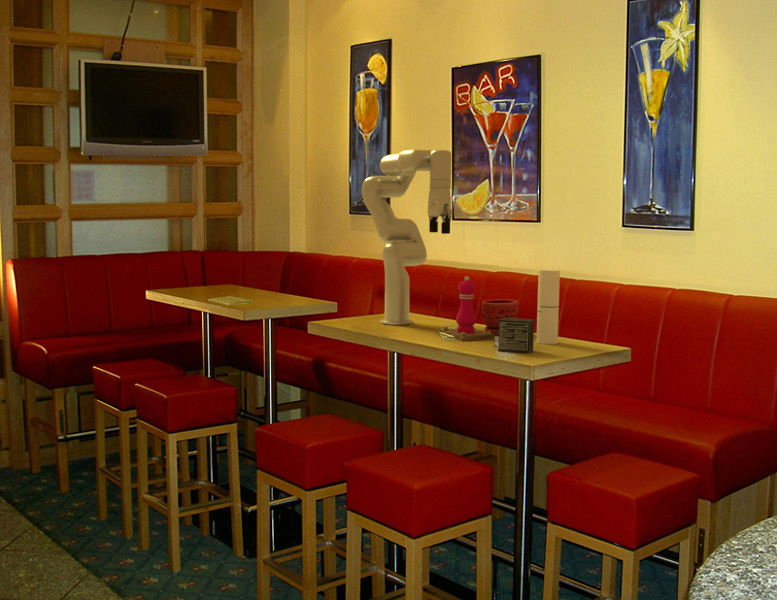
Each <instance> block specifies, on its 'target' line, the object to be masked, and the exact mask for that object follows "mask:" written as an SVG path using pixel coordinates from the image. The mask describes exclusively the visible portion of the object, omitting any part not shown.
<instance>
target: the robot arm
mask: <svg viewBox="0 0 777 600" xmlns="http://www.w3.org/2000/svg"><path fill="white" fill-rule="evenodd" d="M379 168H380V171H381V172H382V173H383V175H372V176H369V177H367V178H365V179H364V180H363V183H362V187H361V195H362V199H363V202H364V204H365V207H366V208H367V210H368V212H369V213H370V215H371V218H372V220H373V223H374V225H375V229H376V231H377V234H378V237H379V238H380V241H382V242H383V243H385V246H384V247H383V248H382V259H383V265H384V266H383V267H384V318H382V319H380V324H383V325H391V326H403V325H404V326H405V325H406V326H407V325H412V324H413V323H414V320H413V319H412V318H410V287H411V285H410V284H411V283H410V281H411V280H410V276H409V273H408V271H407V270H406V267H416V266H417V267H418V266H421V265H424V263H425V262H426V261H427V257H428V256H427V248H426V246H425V243H424V239H423V237H422V235H421V232H420V229H419V228H418V225H417V223H416V222H415V221H413V220H412V219H410V218H397V216H395V213H394V211H393V208H392V206H391V205H390V204H389V203H388V202H387V201H386V200H385V199H383V198H391V199H392V198H393V199H394V198H402V197H403V196H404V195H405V194H406V193H407V191H408V189H409V187H410V185H411V183H412V182H413V180H414V178H415V175H416V174H417V172H419V171H420V172H429V191H428V200H427V203H428V204H427V215H428V223H429V231H428V232H429V233H438V232H439V221H438V219H439V217H440V219H441V221H442V222H441V223H440V224H441V225H440V226H441V227H440V229H441V231H440V233H441V234H442V235H447V234H448V235H449V234H451V223H452V215H453V209H452V200H451V198H452V197H451V189H452V152H451V151H450V150H446V149H435V150H434V149H432V150H431V149H430V150H429V149H410V150H409V149H408V150H403V151H401V152H399V153H398V152H396V153H390V154H387V155H385V156H384V157H383V158H381V160H380V162H379ZM386 243H387V244H386Z"/></svg>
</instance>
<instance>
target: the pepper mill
mask: <svg viewBox="0 0 777 600" xmlns="http://www.w3.org/2000/svg"><path fill="white" fill-rule="evenodd" d="M457 289H458V291H459V293H460V294H459V298H460V305H459V306H460V307H459V310H458V312H457V314H456V317H455V322H456V323H457V325H458V326H457V327H456V329H457V332H458V333H462V332H466V333H474V332H475V329H476V328H475V326H474V325H475V324H476V323H477V316H476V313H475V311H474V308H473V299H474V292H476V285H475V283H474V282H473V281H471V280H470V276H467V275H466V276H464V280H462V281H460V283H458V288H457Z"/></svg>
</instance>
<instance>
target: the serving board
mask: <svg viewBox="0 0 777 600" xmlns="http://www.w3.org/2000/svg"><path fill="white" fill-rule="evenodd" d="M440 332H443V333H446V334H449V335H452V336H454V337H455V339H454V340H456V341H461V342H467V341H468V342H469V341H471V342H472V341H485V340H494V339H496V335H495V334H491V331H487V332H486V331H484V330H480V329H476V328H475V332H474V333H466V332H462V333H458V332H457V328H449V329H448V326H443V329H439V333H440Z"/></svg>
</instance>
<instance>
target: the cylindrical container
mask: <svg viewBox="0 0 777 600" xmlns="http://www.w3.org/2000/svg"><path fill="white" fill-rule="evenodd" d="M560 276H561V270H560V269H554V268H541V269H540V268H539V269H538V277H537V278H538V281H537V282H538V283H537V286H538V287H537V311H536V312H537V314H536V315H537V316H536V320H537V321H536V343H538V344H543V345H556V344H558V340H559V315H560V314H559V313H560V312H559V309H560V282H561V281H560V280H561V279H560V278H561V277H560Z"/></svg>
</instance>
